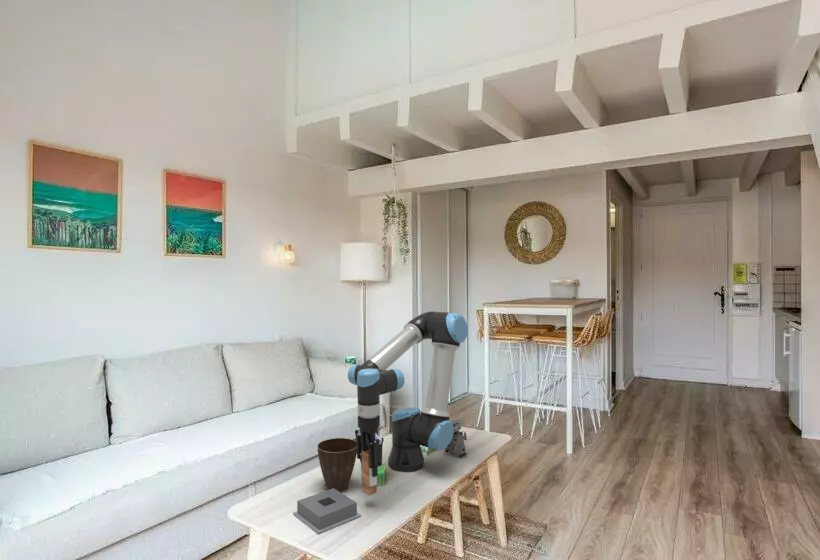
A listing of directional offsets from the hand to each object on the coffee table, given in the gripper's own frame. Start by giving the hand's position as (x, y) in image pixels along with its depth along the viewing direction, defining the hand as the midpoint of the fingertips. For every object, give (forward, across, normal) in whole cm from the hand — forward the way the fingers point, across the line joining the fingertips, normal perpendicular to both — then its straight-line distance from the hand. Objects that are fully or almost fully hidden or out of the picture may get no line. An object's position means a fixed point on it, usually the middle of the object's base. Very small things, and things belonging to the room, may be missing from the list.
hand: (369, 482), depth 163 cm
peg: (+3, 0, 0) cm, 3 cm away
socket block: (+8, -4, -15) cm, 17 cm away
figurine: (+9, -12, +54) cm, 56 cm away
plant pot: (+8, -19, -1) cm, 21 cm away
